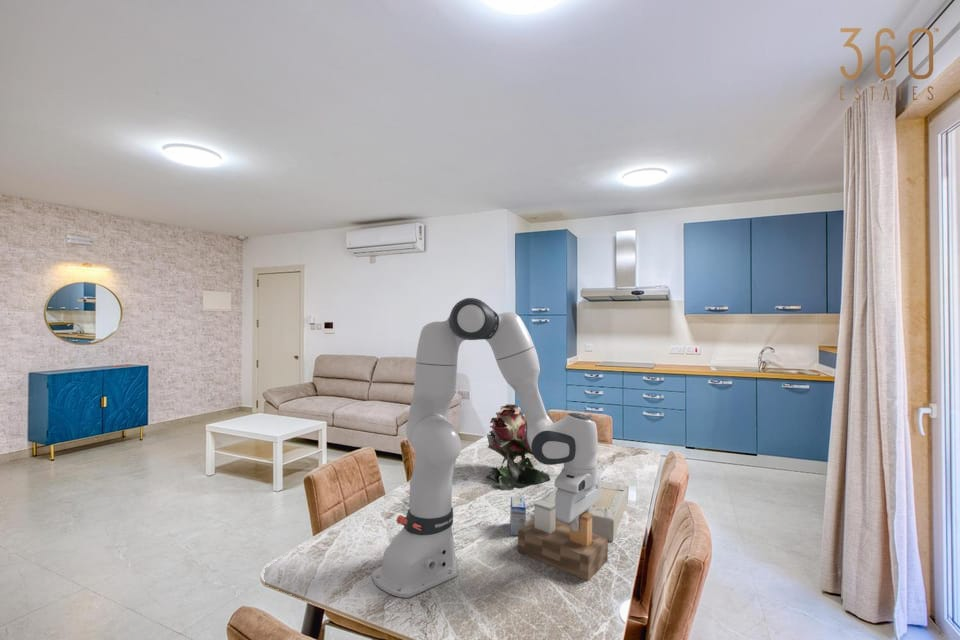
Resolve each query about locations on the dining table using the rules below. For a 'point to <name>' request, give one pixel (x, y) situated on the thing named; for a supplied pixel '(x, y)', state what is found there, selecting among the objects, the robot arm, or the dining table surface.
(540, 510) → the cream plug
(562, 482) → the robot arm
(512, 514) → the medicine box
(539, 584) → the dining table surface
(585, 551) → the block
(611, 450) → the dining table surface
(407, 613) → the dining table surface
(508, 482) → the rose bouquet
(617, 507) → the pale hollow square block
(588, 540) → the orange plug
